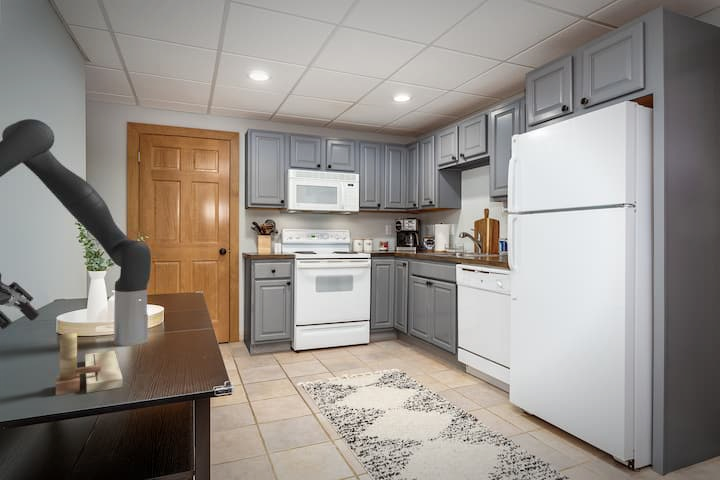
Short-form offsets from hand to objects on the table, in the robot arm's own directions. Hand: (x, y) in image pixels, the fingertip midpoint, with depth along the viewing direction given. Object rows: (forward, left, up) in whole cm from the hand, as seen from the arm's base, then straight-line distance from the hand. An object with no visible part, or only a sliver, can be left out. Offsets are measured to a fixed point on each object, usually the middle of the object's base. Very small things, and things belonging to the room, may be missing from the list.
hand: (22, 321), depth 95 cm
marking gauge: (-11, +5, -15) cm, 19 cm away
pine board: (-16, -3, -15) cm, 22 cm away
